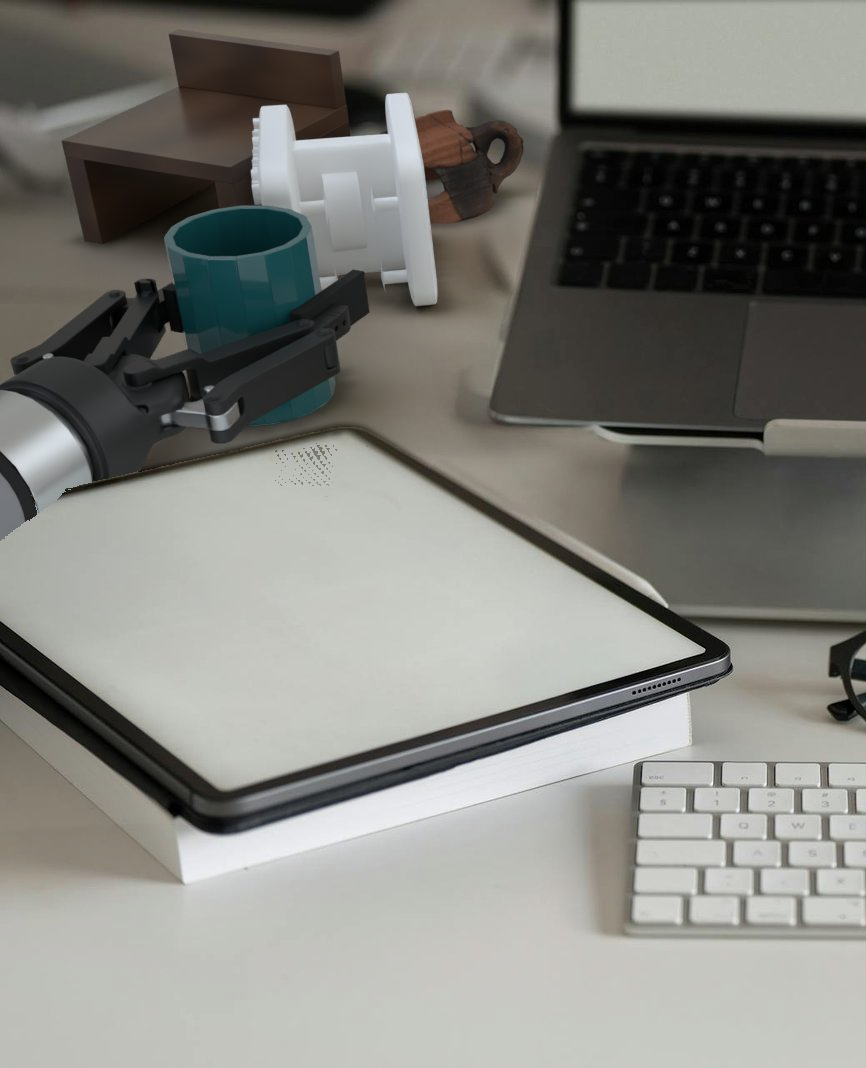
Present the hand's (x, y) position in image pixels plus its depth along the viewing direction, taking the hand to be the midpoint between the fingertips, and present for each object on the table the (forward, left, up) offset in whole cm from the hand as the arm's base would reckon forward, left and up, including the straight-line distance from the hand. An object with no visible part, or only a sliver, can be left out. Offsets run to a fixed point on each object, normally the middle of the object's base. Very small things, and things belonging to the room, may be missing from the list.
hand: (299, 280), depth 104 cm
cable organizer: (-4, +11, -6) cm, 13 cm away
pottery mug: (-6, +27, -6) cm, 29 cm away
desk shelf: (-19, +17, -6) cm, 26 cm away
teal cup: (0, -5, -6) cm, 8 cm away
